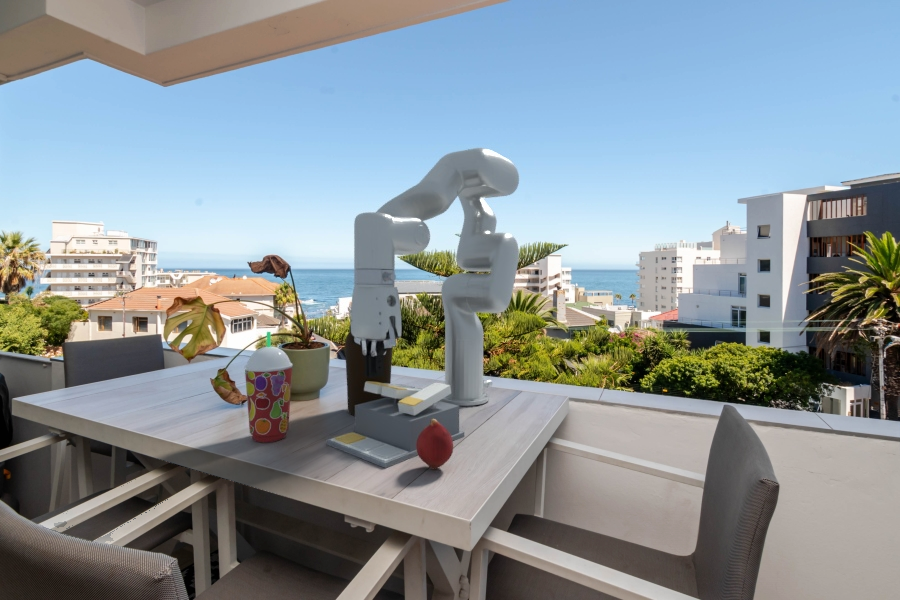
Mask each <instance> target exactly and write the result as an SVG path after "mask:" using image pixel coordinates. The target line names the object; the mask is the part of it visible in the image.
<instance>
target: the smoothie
mask: <svg viewBox="0 0 900 600" xmlns="http://www.w3.org/2000/svg"><path fill="white" fill-rule="evenodd" d="M271 334H272V333H271V331H266V346H263V347H261V348H259V349H256V350H255V351H254V352H253V353H252V354H251V355H250V357H249V358H248V360H247V362H246V364H245V365H244V376H245V388H246V389H245V390H246V400H247V413H248V415H247V416H248V427H249V434H250V435H252V439H253V441H255V442H257V443H273V442H277V441H280V440H282V439H284V438H285V437H286V434H287V431H289V429H290V428H289V427H290V425H289V424H290V409H291V391H292V390H291V389H292V374H293V373H292V372H293V363H292V362H291V359H290V358H289V356H288V355H287V353H286V352H285V351H284V350H282V349H281V348H279V347H277V346H272V345H271V344H272V343H271V339H272V338H271V337H272V335H271Z"/></svg>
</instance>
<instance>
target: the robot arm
mask: <svg viewBox="0 0 900 600" xmlns="http://www.w3.org/2000/svg"><path fill="white" fill-rule="evenodd" d="M519 183H520V176H519V171H518V168H517V167H516V165H515V164H514V163H513V161H511V160H510V159H508V158H507V157H504V156H502V155H501V154H499V153H497V152H495V151H493V150H491V149H488V148H482V147H475V148H470V149H464V150H457V151H453V152H450V153H447V154H445V155H443V156H442V157H441V158H440V159H439V160H438V161H437V162H436V163H435V164H434V166H433V167H431V169H430V170H429V171H428V172H427V174H426V175H425V176H424V177H423V178H422V179H421V180H420V181H419V182H418V183H417V184H416V185H413V186H412V187H410V188H408V189H406V190H405V191H403V192H402V193H400V194H398V195H397V196H395V197H393V198H392V199H390V200H389V201H387V202H385V203H384V204H383V205H382V206H381V207H379V208H378V209H377V210H376V211H375V212H371V211H370V212H369V211H368V212H362V213H358V214H357V215H356V217H355V218H354V223H353V227H354V230H353V231H354V232H353V235H354V236H353V237H354V238H353V240H354V241H353V242H354V243H353V247H354V248H353V250H354V251H353V252H354V253H353V254H354V255H353V257H354V259H353V266H354V268H353V271H354V272H353V277H354V278H353V281H354V282H353V285H354V286H353V289H352V290H353V291H352V297H351V304H350V306H351V307H350V330H351V333H352V335H353V336H354V341H355V342H356V343H358V344H359V345H361V347H362V350H363V354H364V355H366V356H365V376H366V377H371V378H373V377H378V376H382V375H383V355H385V354H386V350H387V349H388V348H391V347H392V348H395V347H396V345H397V343H396V340H397V339H400V338H401V337H402V330H403V329H402V313H401V312H402V309H401V300H400V294H399V290H398V287H397V286H395V280H396V277H397V275H396V274H395V265H396V263H395V262H396V261H395V259H396V257H395V256H407V255H408V256H411V255H416V254H420V253H422V252H423V251H424V250H426V249H427V247H429V246H428V245H429V243H430V240H431V232H430V229H429V226H428V224H427V223H425V221H428V220H431V219H433V218H437V217H438V216H440V215H442V214H444V213H445V212H447V210H449V208H450V207H451V205H452V204H453V203H454V201H455V200H456V199H457V198H458V199H459V203H460V204H461V207H462V210H463V217H464V218H463V224H462V229H461V232H460V237H459V241H458V244H457V251H456V259H455V260H456V264H457V265H458V266H457V267H459V268H460V269H462V270H463V271H467V272H464V273H463V272H462V273H460V272H459V273H454V274H452V275H450V276H448V277H447V278H445V280H444V281H443V283H442V285H441V292H440V293H441V301H442V306H443V311H444V313H443V314H444V324H445V326H444V328H445V333H444V334H445V335H444V336H445V337H444V384H446V385H450V388H451V394H449V395H448V396H446V397H444V398H443V399H441V400H439V401H441V402H445V403H449V404H454V405H458V406H459V407H460V406H461V407H463V406H464V407H465V406H466V407H469V406H477V405H479V406H480V405H483V404H486V403H487V402H489V400H490V395H489V394H488V393H487V392H485V389H486V388H491V387H492V386H493V381H492V380H491V379H484V329H483V324H482V322H481V320H480V318H479V316H478V315H477V313H480V314H481V313H483V314H489V313H490V314H500V313H502V312H505V311H506V310H507V309H508V307H509V305H510V302H511V300H512V295H513V291H514V286H515V281H516V276H517V275H516V274H517V270H518V265H519V260H520V259H519V257H520V253H519V245H518V242H517V240H516V237H514V236H513V234H511V233H507V232H496V227H497V217H496V214H495V212H494V211H493V209H492V208H491V207H490V206H489V205H488V203H487V201H486V200H485V199H490V198H498V197H499V198H500V197H507V196H510V195H512V194H514V193H515V192H516V191H517V189H518V186H519ZM474 272H475V273H474ZM480 272H482V273H480ZM483 272H484V273H483ZM485 272H490V273H485ZM370 341H371V342H370ZM378 343H379V344H378Z"/></svg>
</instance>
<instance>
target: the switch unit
mask: <svg viewBox="0 0 900 600" xmlns="http://www.w3.org/2000/svg"><path fill="white" fill-rule="evenodd" d="M398 403H399V400H398V398H394V399H391V398H387V397H386V398H382V399H378V400H374V401H370V402H366V403H362V404H358V405H355V415H354V431H351V432H348V433H344V434H342V435H338V436H335V437H331V438H328V439H326V441H325V442H326V445H327V446H329V447H332V448H335V449H336V450H339V451H341V452H345V453H346V454H349V455H352V456H355V457H357V458H359V459H362V460H365V461H366V462H370V463H372V464H375V465H377V466H380V467H382V468H385V469H387V468H389V467H392V466H394V465H398V464H400V463H401V462H405V461H406V460H409V459H411V458H412V459H413V458H414V457H416V456H419V455H418V453H417V447H416V443H417V439H418V436H419V435H420V433H421V432H422V431H423V430H424V429H425V428H426V427H427V426H429V425H430V420H431V419H436V420H437V422H439V423H440V424H441V425H442V426H444V427H445V428H446V429H447V430H448V431H449V433H450V435H451V437H452V440H453V442H454V441H456V440H458V439H461V438H464V437H465V431H461V430H460V406H458V405H454V404H449V403H445V402H441V401H440V400H439V401H438V402H436V408H435V409H430V408H426V409H424V410H423V411H421V412H419V413H418V414H416V415H415V416H414V415H411V414H407V413H403V412H400V411H399V407H398Z"/></svg>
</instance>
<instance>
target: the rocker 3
mask: <svg viewBox="0 0 900 600" xmlns="http://www.w3.org/2000/svg"><path fill="white" fill-rule="evenodd" d="M421 389H422V390H420V391H419V392H417V393H415V394H413V395H411V396H410V397H409V396H408V397H406V398H404V399H402V400H400V401H399V403H398V407H399V411H400V412H403V413H407V414H411V415H414V416H415V415H416V414H418V413H419V412H421V411H423V410H424V409H426V408H430V409H435V408H436V402H438V401H440V400H441V399H443V398H444V397H446V396H448V395H449V394H451V388H450V385H446V384H445V383H441V382H436V381H435V382H434V383H432V384H430V385H427V386H426V387H424V388H421Z"/></svg>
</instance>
